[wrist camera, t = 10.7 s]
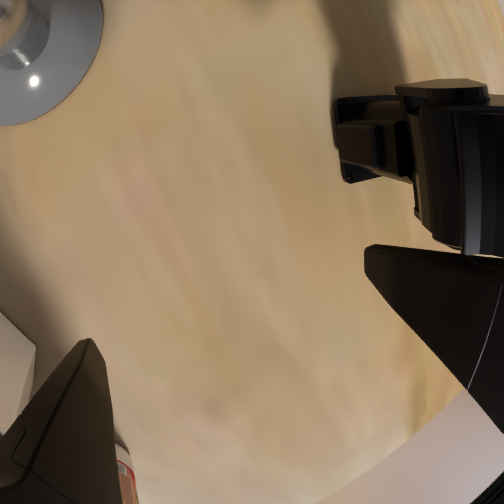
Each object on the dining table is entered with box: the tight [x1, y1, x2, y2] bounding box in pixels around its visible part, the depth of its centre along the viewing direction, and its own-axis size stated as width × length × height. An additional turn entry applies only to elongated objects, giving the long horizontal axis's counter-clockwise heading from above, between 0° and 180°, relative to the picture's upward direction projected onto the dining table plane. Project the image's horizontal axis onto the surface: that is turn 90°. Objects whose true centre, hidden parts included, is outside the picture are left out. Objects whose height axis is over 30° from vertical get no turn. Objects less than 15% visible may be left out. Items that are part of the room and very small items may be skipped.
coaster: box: [0, 0, 103, 126], centre depth 12 cm, size 11×11×1 cm
